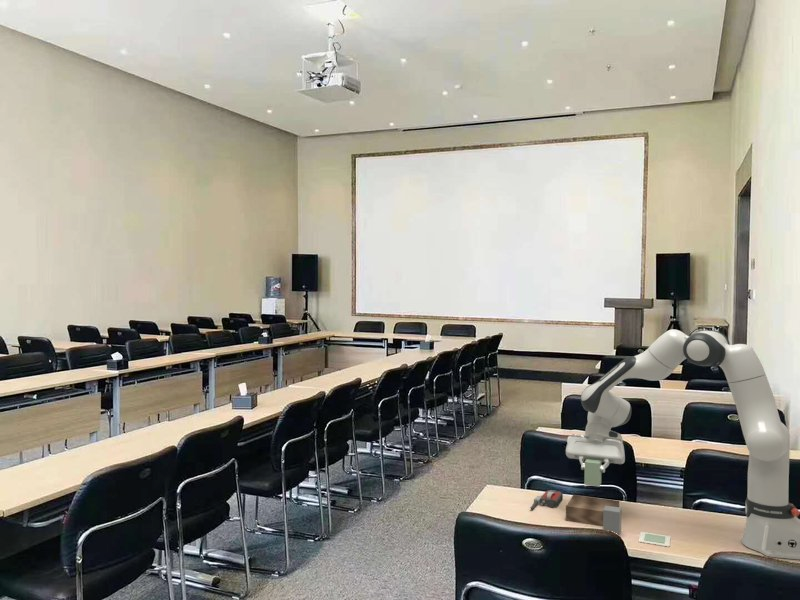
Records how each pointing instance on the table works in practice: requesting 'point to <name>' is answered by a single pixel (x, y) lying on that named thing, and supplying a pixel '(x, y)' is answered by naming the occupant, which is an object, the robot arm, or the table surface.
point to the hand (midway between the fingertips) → (592, 470)
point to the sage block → (592, 472)
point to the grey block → (612, 519)
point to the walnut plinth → (587, 509)
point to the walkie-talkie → (548, 499)
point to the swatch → (654, 539)
